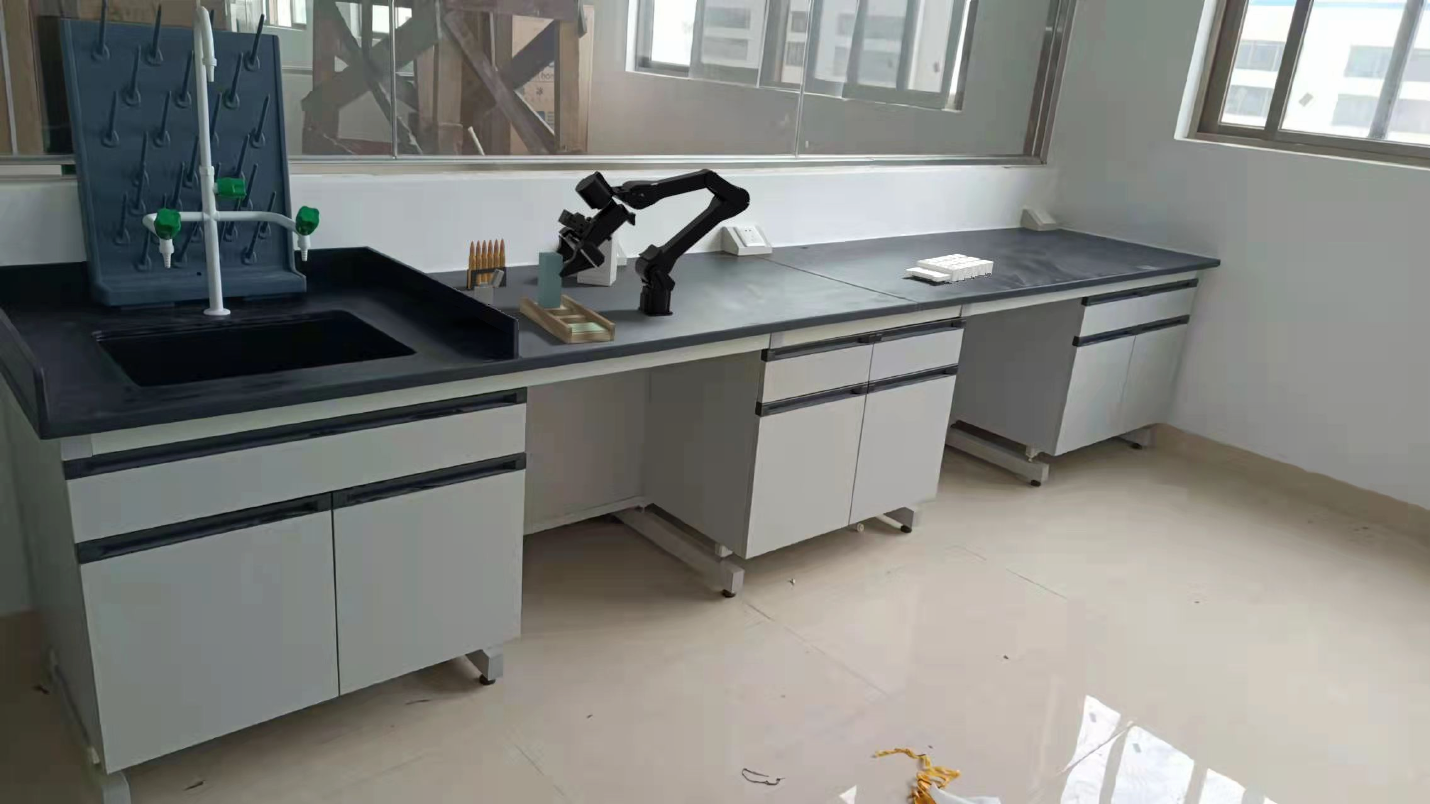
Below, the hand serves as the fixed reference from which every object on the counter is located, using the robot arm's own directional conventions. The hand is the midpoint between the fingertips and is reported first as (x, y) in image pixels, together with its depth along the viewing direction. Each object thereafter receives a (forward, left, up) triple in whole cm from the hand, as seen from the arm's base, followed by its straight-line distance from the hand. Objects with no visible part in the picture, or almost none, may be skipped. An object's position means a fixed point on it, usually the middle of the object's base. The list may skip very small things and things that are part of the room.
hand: (554, 271), depth 226 cm
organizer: (-143, -17, -11) cm, 144 cm away
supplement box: (-25, -29, -10) cm, 39 cm away
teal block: (+1, 0, -8) cm, 8 cm away
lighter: (+11, -12, -10) cm, 19 cm away
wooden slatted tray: (+1, +8, -10) cm, 13 cm away
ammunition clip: (+6, -27, -10) cm, 29 cm away
